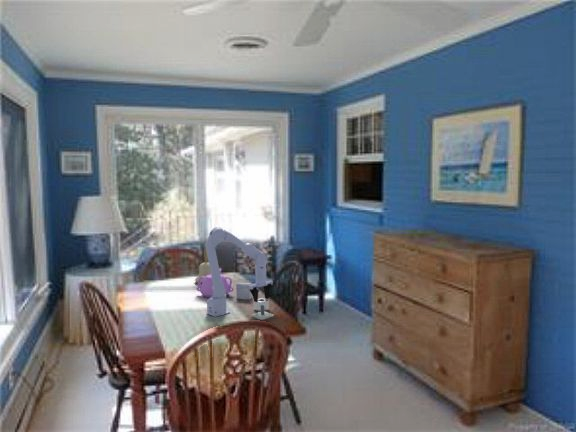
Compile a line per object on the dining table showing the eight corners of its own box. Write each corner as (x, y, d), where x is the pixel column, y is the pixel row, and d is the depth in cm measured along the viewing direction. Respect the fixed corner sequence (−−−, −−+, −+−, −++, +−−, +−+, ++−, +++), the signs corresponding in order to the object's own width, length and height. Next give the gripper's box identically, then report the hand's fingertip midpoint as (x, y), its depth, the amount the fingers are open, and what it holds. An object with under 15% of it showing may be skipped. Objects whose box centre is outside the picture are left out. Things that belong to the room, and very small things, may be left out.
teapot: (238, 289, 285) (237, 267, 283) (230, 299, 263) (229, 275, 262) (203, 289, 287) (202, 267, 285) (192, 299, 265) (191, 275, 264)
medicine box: (252, 297, 267) (251, 283, 266) (249, 300, 262) (249, 284, 262) (239, 297, 269) (239, 282, 268) (236, 299, 265) (236, 284, 264)
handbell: (199, 286, 294) (197, 247, 292) (191, 281, 308) (190, 243, 305) (222, 283, 302) (220, 245, 299) (214, 278, 315) (212, 241, 313)
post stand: (261, 319, 227) (261, 309, 227) (251, 316, 233) (251, 305, 233) (273, 316, 233) (273, 305, 232) (263, 312, 239) (263, 302, 238)
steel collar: (260, 311, 240) (260, 302, 240) (253, 309, 244) (253, 300, 244) (269, 309, 244) (268, 300, 244) (262, 307, 248) (261, 298, 248)
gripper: (255, 278, 235) (255, 304, 236) (276, 273, 245) (276, 298, 246) (246, 276, 240) (247, 301, 241) (267, 271, 250) (267, 296, 251)
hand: (261, 300), depth 244 cm, fingers open, 7 cm apart
